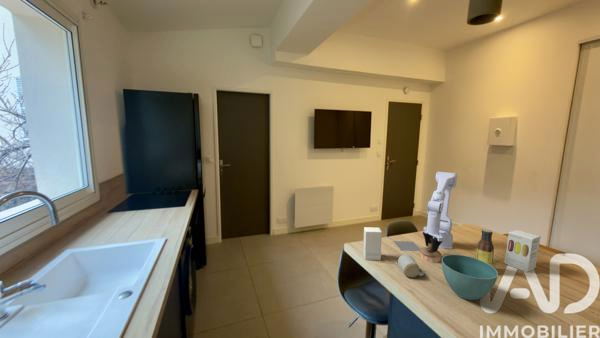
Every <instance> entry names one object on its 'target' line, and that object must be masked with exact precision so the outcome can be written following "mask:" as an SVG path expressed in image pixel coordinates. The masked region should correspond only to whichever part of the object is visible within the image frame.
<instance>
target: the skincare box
mask: <svg viewBox="0 0 600 338" xmlns="http://www.w3.org/2000/svg"><path fill="white" fill-rule="evenodd" d="M382 234H383V232H382V230H381V228H380V227H376V226H375V227H373V226H372V227H371V226H369V227H368V226H367V227H366V226H364V227H363V246H362V254H363V258H364V260H366V261H368V260H370V261H381V260H382V237H383V235H382Z"/></svg>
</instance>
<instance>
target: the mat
mask: <svg viewBox="0 0 600 338" xmlns="http://www.w3.org/2000/svg"><path fill="white" fill-rule="evenodd" d="M392 242H393V243H394V244H395V245H396V246H397V247H398V249H399V250H400V251H403V252H404V251H407V252H408V251H409V252H412V251H414V252H420V249H421V247H419V246H418V245H417V244H416V243H415V242H414V241H405V240H404V241H401V240H397V241H396V240H395V241H392Z"/></svg>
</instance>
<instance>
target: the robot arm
mask: <svg viewBox="0 0 600 338" xmlns="http://www.w3.org/2000/svg"><path fill="white" fill-rule="evenodd" d="M457 180H458V174H457V172H446V171H440V170H439V171H436V174H435V182H436V184H437V187H436V190H434V191H433V192H432V196H431V198H430V200H428V202H427V206H426V214H427V223H426V226H423V231H422V235H423V237H424V241H425V242H424V243H425V246H426V247H428V243H432V251H433V252H437V250H438V251H439V249H445V250H446V249H449V250H450V249H451V250H452V249H453V241H454V237H453V233H452V230H453V229H452V228H453V220H452V218H451V217H450V216H448V211H449V207H450V206H449V203H450V198H451V191H452V189H453V188H456V186H457Z"/></svg>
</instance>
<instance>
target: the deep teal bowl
mask: <svg viewBox="0 0 600 338" xmlns="http://www.w3.org/2000/svg"><path fill="white" fill-rule="evenodd" d="M441 268H442V273H443V275H444V276H443V277H444V278H445V281H446V282H447V284H448V287H450V289H451V290H452V292H453V293H454V294H455V295H456V296H458V297H460V298H462V299H465V300H469V301H477V300H480V299H481V298H484V297H485V296H486V295H488V294H489V293H490V292H491V290H493V288H494V286H495V285H496V283H497V280H498V276H499V273H498V271H497V269H496V268H494V267H493V266H490V265H489V264H487V263H485V262H483V261H481V260H478V259H476V258H475V257H471V256H468V255H462V254H445V255H444V256H441Z"/></svg>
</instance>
